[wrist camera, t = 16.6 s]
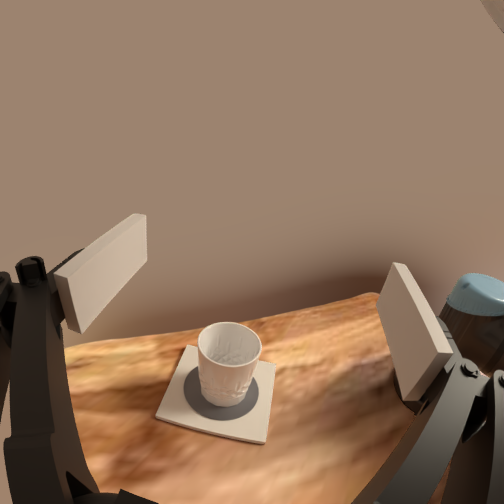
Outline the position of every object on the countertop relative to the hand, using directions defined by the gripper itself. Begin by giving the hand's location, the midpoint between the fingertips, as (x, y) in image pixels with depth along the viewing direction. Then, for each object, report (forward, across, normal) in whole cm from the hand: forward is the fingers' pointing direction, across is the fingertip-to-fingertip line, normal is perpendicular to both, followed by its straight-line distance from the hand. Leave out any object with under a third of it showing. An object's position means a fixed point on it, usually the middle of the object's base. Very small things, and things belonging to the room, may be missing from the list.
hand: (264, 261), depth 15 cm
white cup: (+13, -3, -29) cm, 32 cm away
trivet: (+13, -3, -30) cm, 33 cm away
